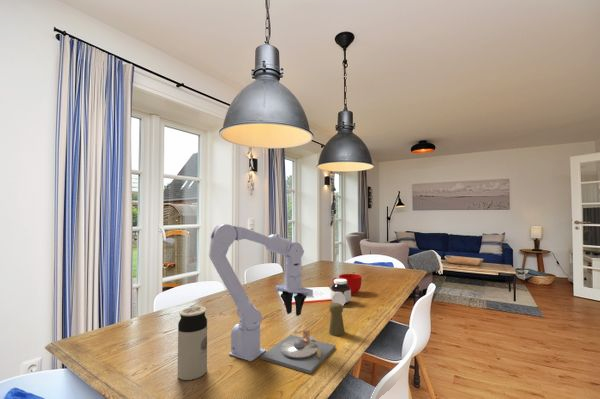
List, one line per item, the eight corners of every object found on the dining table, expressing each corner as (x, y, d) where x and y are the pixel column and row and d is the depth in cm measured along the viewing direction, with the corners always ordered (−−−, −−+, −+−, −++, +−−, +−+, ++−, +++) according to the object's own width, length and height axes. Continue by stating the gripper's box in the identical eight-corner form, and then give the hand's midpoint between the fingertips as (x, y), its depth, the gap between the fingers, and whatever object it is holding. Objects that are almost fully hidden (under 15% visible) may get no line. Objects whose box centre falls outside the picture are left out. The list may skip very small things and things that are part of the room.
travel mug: (171, 378, 79) (172, 313, 80) (191, 364, 87) (191, 304, 88) (193, 383, 76) (194, 316, 77) (212, 368, 84) (212, 307, 85)
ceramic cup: (332, 290, 170) (332, 273, 171) (361, 290, 168) (360, 274, 169) (332, 296, 158) (331, 278, 158) (362, 297, 155) (362, 278, 156)
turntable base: (260, 359, 89) (260, 346, 89) (290, 337, 105) (290, 327, 105) (310, 374, 80) (310, 360, 80) (335, 348, 96) (335, 336, 96)
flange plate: (273, 353, 90) (273, 339, 90) (297, 335, 103) (297, 323, 103) (306, 362, 84) (306, 347, 84) (327, 342, 97) (327, 329, 97)
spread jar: (346, 299, 151) (345, 277, 152) (356, 306, 140) (356, 282, 141) (325, 302, 147) (325, 279, 148) (334, 308, 136) (334, 284, 137)
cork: (334, 328, 112) (333, 300, 113) (347, 332, 109) (346, 303, 109) (325, 333, 108) (325, 304, 108) (339, 337, 104) (338, 307, 105)
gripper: (316, 275, 100) (317, 313, 100) (282, 271, 108) (283, 307, 107) (307, 279, 94) (307, 320, 94) (272, 275, 102) (272, 313, 101)
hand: (293, 314), depth 100 cm, fingers open, 3 cm apart
